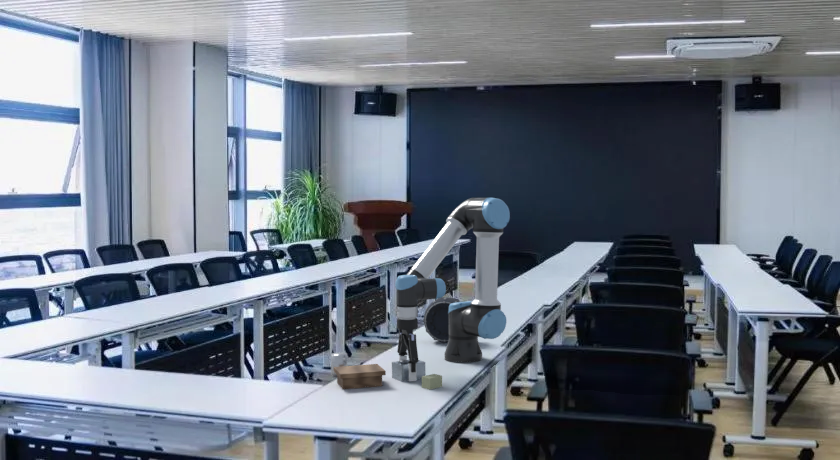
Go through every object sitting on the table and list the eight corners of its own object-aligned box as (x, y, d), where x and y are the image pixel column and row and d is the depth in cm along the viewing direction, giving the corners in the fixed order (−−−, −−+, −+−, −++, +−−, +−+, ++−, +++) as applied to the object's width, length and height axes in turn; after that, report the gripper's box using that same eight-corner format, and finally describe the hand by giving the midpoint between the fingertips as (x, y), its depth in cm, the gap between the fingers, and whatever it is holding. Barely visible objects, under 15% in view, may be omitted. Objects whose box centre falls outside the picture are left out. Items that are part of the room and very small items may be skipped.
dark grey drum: (467, 345, 365) (466, 299, 364) (422, 343, 369) (421, 298, 368) (470, 340, 375) (470, 296, 374) (426, 339, 379) (426, 295, 378)
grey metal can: (345, 373, 313) (345, 352, 313) (349, 376, 308) (348, 355, 307) (329, 374, 312) (329, 353, 311) (332, 378, 306) (332, 356, 305)
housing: (415, 374, 310) (415, 356, 310) (425, 378, 304) (425, 359, 304) (392, 378, 305) (391, 359, 305) (401, 382, 299) (401, 363, 299)
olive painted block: (434, 385, 294) (434, 373, 294) (442, 387, 291) (442, 375, 291) (421, 387, 290) (421, 376, 290) (429, 389, 287) (429, 378, 287)
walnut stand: (377, 378, 303) (377, 363, 303) (385, 386, 292) (385, 370, 292) (333, 382, 299) (333, 367, 299) (340, 390, 287) (340, 374, 287)
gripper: (388, 313, 314) (389, 370, 315) (406, 323, 291) (407, 385, 292) (408, 312, 316) (408, 369, 317) (427, 322, 293) (427, 383, 294)
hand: (407, 377), depth 305 cm, fingers open, 12 cm apart
